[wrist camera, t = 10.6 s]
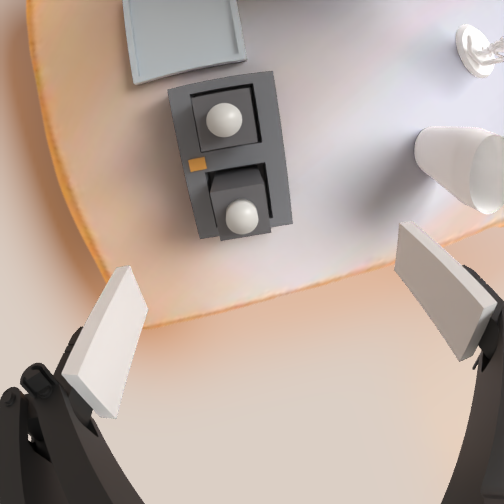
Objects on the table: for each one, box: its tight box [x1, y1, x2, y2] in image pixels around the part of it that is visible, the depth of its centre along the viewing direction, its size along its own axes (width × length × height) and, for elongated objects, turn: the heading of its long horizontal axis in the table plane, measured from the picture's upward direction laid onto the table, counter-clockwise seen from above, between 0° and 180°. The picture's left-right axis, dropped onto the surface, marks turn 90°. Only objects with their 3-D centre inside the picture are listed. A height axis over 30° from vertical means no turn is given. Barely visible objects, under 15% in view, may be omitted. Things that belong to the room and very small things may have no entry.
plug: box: [210, 165, 271, 241], centre depth 27 cm, size 4×4×10 cm
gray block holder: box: [168, 71, 293, 239], centre depth 26 cm, size 16×10×10 cm, turn 9°
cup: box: [414, 127, 504, 214], centre depth 26 cm, size 9×9×12 cm
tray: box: [122, 0, 247, 85], centre depth 22 cm, size 12×12×2 cm
